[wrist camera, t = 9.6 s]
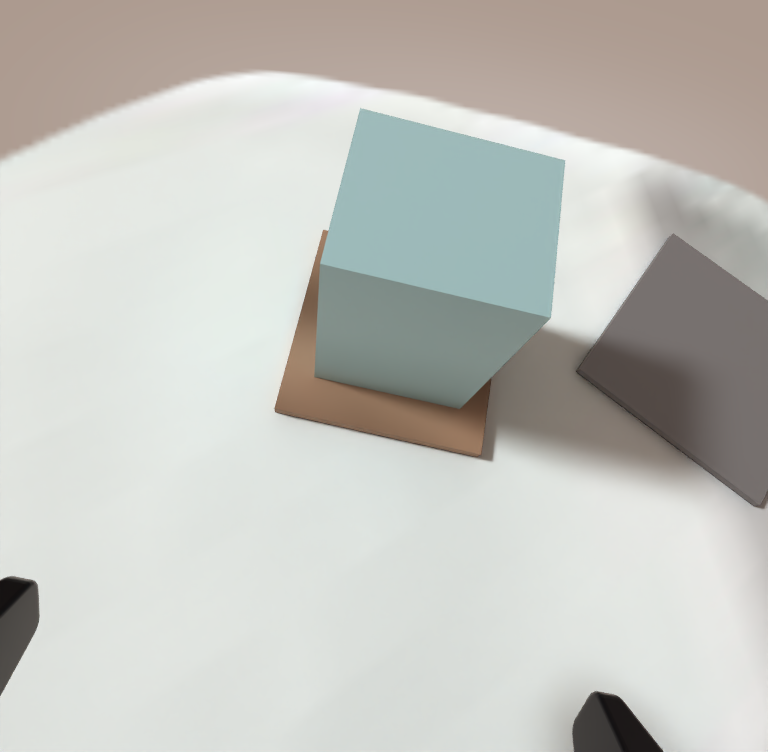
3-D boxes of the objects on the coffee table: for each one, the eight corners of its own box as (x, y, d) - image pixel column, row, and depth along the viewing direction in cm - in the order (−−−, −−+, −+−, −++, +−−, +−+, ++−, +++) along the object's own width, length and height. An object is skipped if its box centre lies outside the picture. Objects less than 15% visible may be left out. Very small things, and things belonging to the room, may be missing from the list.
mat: (753, 505, 25) (760, 505, 25) (576, 371, 26) (579, 368, 26) (828, 352, 29) (835, 349, 28) (668, 237, 30) (673, 233, 29)
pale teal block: (459, 409, 24) (550, 317, 15) (314, 376, 24) (319, 263, 15) (475, 299, 26) (565, 160, 17) (340, 267, 26) (360, 108, 17)
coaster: (477, 457, 24) (481, 454, 24) (275, 412, 24) (274, 408, 23) (501, 280, 27) (505, 274, 27) (322, 236, 27) (323, 229, 26)
